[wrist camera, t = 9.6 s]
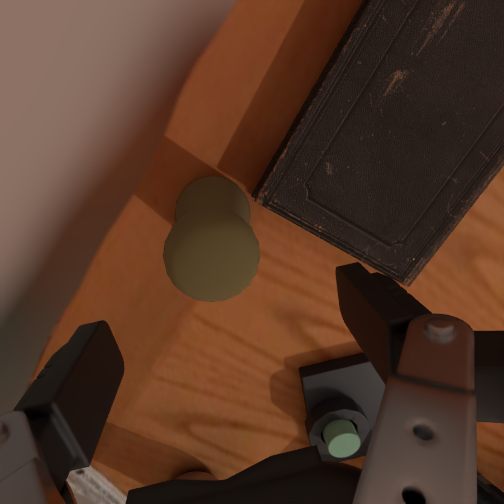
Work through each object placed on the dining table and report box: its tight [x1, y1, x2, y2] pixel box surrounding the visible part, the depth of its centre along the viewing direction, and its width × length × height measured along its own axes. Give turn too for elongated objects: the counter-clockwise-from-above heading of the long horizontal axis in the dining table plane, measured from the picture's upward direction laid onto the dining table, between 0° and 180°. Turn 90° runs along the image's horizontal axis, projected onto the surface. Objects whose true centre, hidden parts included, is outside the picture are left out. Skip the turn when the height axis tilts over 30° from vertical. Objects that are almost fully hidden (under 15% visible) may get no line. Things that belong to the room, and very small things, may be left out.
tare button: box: [323, 418, 360, 458], centre depth 32 cm, size 3×3×2 cm
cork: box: [163, 176, 260, 302], centre depth 21 cm, size 6×6×11 cm
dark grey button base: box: [299, 353, 386, 462], centre depth 34 cm, size 14×13×3 cm
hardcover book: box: [251, 0, 504, 286], centre depth 24 cm, size 16×23×2 cm
